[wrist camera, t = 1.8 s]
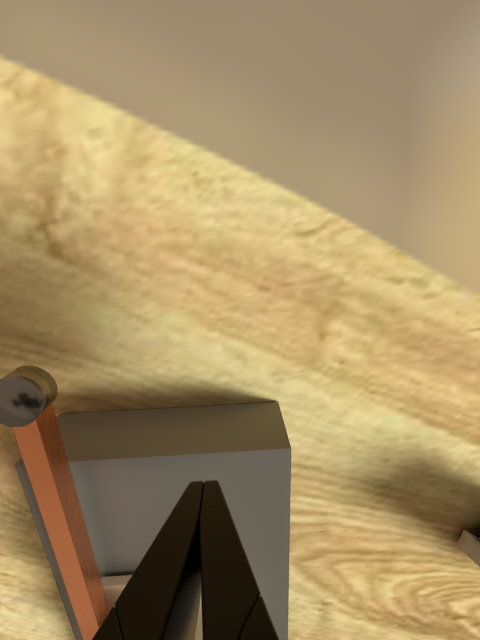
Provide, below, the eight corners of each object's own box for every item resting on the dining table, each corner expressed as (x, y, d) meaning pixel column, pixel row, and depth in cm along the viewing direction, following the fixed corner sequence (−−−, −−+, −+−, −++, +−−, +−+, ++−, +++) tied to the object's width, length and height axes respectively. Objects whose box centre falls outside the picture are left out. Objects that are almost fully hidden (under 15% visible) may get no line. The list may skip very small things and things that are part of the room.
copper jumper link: (151, 714, 15) (145, 756, 13) (110, 717, 15) (101, 759, 13) (63, 362, 9) (38, 383, 7) (-7, 365, 9) (-43, 387, 7)
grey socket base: (277, 673, 20) (288, 767, 17) (133, 684, 20) (113, 783, 17) (277, 401, 14) (295, 464, 10) (60, 413, 13) (-1, 482, 10)
